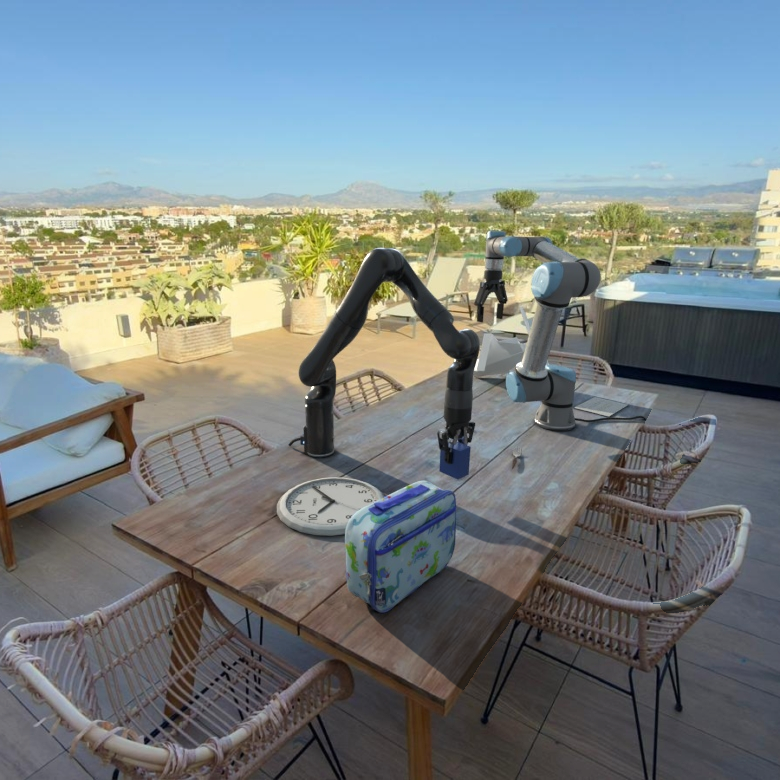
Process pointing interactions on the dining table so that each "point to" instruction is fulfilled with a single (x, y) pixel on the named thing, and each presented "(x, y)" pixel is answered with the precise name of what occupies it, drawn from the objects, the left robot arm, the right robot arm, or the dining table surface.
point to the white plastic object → (500, 353)
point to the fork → (516, 456)
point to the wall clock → (325, 504)
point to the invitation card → (601, 406)
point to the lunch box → (399, 543)
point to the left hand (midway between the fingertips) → (454, 460)
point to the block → (456, 461)
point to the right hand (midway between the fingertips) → (489, 320)
